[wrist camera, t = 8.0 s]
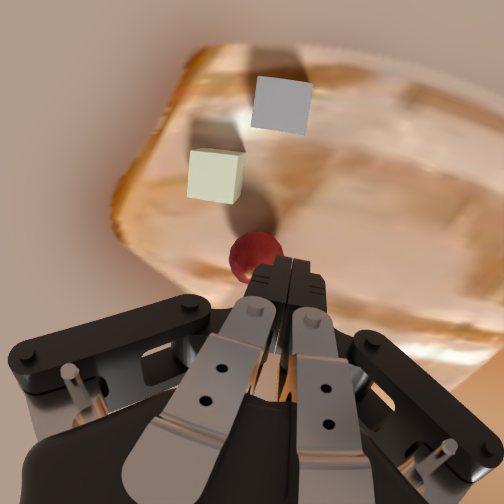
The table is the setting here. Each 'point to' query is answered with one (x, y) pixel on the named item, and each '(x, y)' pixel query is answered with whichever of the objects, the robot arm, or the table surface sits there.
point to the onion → (252, 253)
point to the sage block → (215, 175)
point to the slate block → (281, 105)
